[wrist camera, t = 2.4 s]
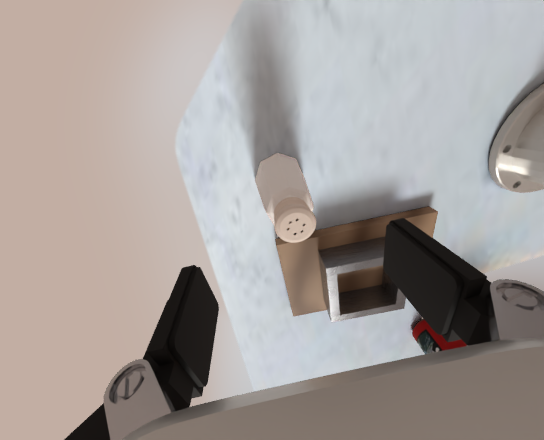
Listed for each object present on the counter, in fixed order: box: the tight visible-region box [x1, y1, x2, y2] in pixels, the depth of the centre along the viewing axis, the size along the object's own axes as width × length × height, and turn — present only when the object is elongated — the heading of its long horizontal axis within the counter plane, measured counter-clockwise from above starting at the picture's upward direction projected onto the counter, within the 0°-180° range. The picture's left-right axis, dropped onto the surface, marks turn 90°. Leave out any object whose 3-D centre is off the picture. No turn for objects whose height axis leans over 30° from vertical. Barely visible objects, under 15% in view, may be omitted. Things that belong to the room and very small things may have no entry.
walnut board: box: [275, 207, 438, 316], centre depth 29 cm, size 20×14×2 cm
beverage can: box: [412, 319, 467, 354], centre depth 34 cm, size 7×7×12 cm
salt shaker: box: [255, 153, 316, 243], centre depth 18 cm, size 5×5×11 cm
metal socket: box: [318, 236, 406, 322], centre depth 27 cm, size 10×10×4 cm
